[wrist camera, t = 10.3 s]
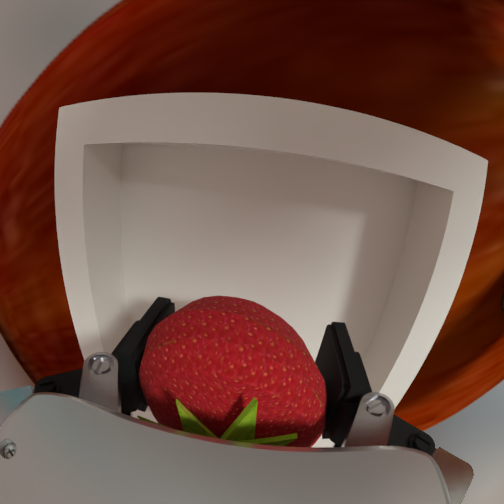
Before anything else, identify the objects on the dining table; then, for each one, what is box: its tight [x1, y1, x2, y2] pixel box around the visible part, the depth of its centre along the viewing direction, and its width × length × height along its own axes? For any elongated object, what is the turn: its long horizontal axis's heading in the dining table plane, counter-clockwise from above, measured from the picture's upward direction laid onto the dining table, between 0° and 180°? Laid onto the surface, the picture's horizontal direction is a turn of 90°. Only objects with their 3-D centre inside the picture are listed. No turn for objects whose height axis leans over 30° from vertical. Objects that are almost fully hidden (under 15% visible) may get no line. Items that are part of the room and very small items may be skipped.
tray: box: [55, 93, 488, 447], centre depth 14 cm, size 20×20×4 cm
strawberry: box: [137, 296, 327, 447], centre depth 9 cm, size 6×8×10 cm
